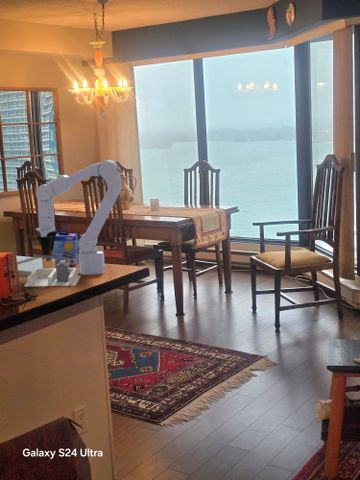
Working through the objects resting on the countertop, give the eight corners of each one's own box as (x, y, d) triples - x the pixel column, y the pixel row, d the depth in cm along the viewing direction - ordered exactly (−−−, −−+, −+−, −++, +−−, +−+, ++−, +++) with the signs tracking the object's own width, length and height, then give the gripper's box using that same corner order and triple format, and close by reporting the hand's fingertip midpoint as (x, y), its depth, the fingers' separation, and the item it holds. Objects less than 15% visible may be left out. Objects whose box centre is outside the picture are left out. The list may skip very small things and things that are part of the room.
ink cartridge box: (52, 265, 258) (50, 230, 255) (55, 262, 263) (53, 227, 260) (76, 265, 257) (74, 229, 254) (79, 262, 263) (77, 227, 260)
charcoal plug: (69, 279, 231) (68, 259, 229) (68, 281, 227) (67, 262, 225) (58, 279, 230) (57, 260, 229) (56, 282, 227) (55, 262, 225)
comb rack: (81, 277, 236) (80, 267, 235) (75, 287, 222) (75, 276, 221) (32, 278, 235) (31, 268, 235) (24, 288, 222) (23, 278, 221)
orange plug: (55, 274, 242) (54, 255, 241) (54, 276, 238) (53, 257, 237) (45, 274, 242) (44, 255, 241) (43, 276, 238) (42, 258, 237)
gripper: (39, 214, 243) (41, 248, 246) (31, 219, 229) (33, 256, 232) (57, 213, 243) (59, 248, 246) (51, 219, 229) (53, 256, 232)
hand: (48, 252), depth 239 cm, fingers open, 7 cm apart
